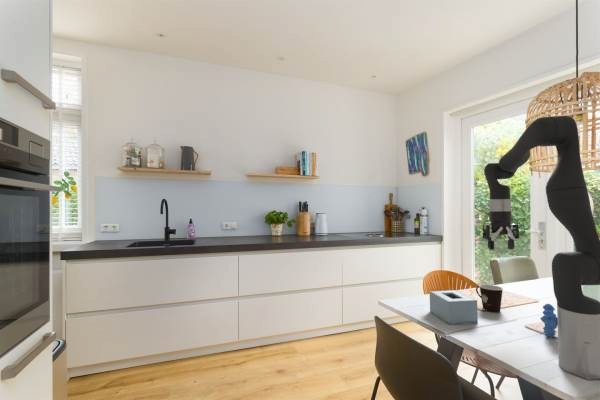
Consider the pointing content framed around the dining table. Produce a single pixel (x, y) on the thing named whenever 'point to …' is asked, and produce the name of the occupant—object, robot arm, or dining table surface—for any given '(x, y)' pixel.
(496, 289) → the coffee mug
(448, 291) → the box
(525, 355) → the dining table surface
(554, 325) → the grapes
